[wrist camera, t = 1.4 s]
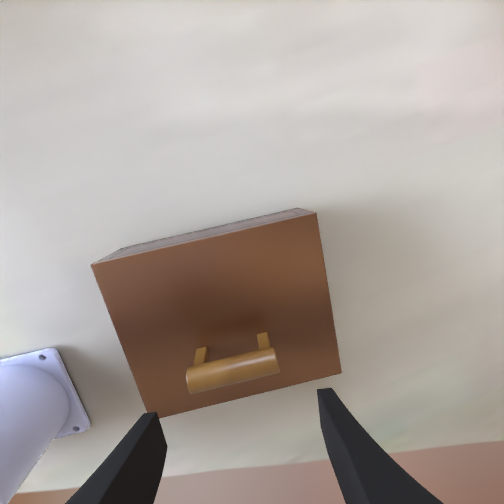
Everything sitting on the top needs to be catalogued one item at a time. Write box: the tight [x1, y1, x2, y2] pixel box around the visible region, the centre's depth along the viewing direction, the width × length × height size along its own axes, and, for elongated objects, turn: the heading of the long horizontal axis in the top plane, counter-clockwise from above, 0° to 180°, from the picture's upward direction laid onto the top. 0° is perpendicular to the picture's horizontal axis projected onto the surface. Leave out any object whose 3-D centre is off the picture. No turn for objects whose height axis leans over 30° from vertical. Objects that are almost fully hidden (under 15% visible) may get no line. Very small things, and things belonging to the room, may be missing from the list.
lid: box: [91, 212, 342, 418], centre depth 16 cm, size 11×14×4 cm
